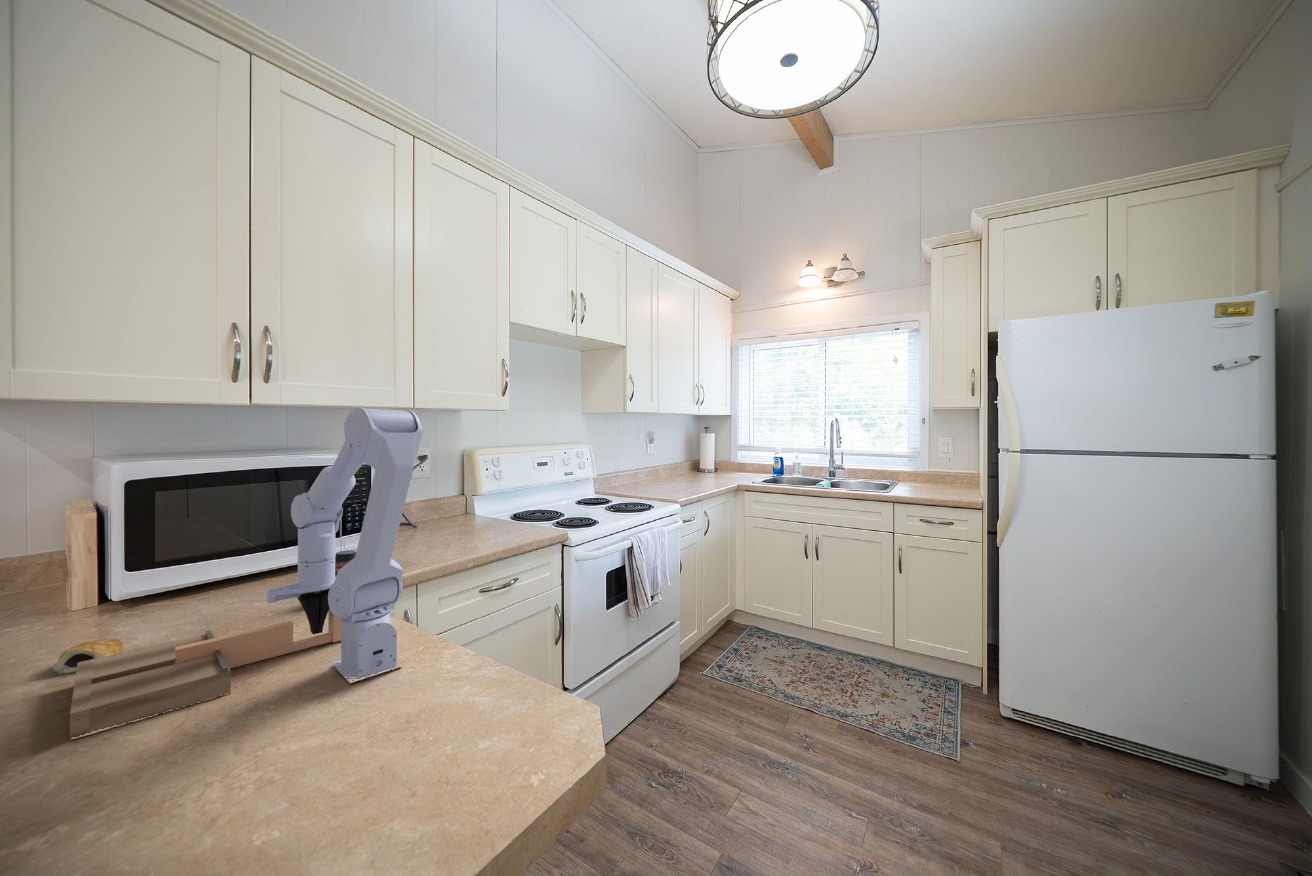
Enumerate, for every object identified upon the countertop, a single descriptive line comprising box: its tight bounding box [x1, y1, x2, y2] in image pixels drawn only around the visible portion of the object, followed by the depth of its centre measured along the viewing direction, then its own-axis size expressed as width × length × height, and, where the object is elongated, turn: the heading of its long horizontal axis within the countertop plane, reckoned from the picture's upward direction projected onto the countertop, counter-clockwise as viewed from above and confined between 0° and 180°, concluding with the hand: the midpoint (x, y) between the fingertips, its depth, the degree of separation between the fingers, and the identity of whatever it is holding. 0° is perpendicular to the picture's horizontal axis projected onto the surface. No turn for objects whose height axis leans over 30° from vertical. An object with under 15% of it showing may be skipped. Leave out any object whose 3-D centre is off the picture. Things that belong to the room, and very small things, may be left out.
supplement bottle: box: [335, 549, 357, 577], centre depth 116 cm, size 6×6×11 cm
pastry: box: [52, 638, 124, 675], centre depth 84 cm, size 9×7×4 cm
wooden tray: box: [69, 629, 232, 739], centre depth 75 cm, size 20×16×4 cm
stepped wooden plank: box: [175, 609, 341, 669], centre depth 85 cm, size 3×23×6 cm, turn 138°
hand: (316, 631), depth 91 cm, fingers closed
